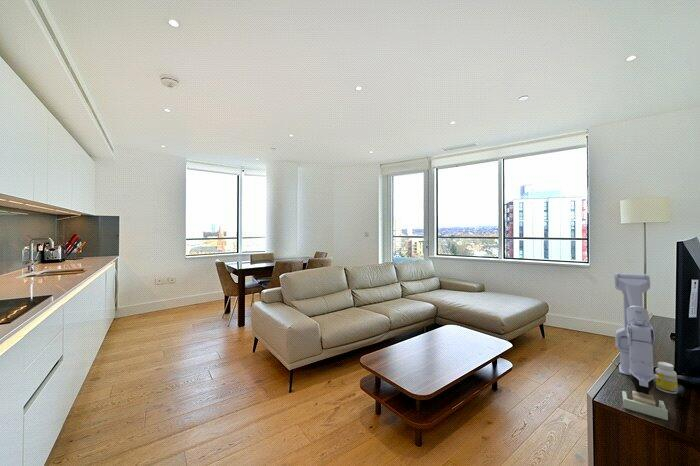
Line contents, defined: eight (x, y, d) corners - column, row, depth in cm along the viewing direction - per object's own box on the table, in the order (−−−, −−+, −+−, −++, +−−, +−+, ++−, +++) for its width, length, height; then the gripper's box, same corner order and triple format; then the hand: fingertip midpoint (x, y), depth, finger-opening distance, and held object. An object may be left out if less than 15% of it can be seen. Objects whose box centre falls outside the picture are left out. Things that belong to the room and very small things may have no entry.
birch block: (632, 401, 98) (632, 390, 98) (653, 407, 94) (653, 395, 94) (634, 408, 94) (633, 396, 94) (655, 414, 91) (655, 402, 91)
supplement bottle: (654, 384, 108) (653, 359, 108) (675, 389, 105) (674, 363, 105) (657, 390, 104) (656, 364, 104) (679, 395, 101) (678, 368, 101)
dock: (622, 396, 101) (622, 387, 101) (663, 407, 94) (663, 398, 94) (623, 407, 94) (623, 398, 95) (668, 420, 88) (667, 410, 88)
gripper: (661, 371, 89) (662, 413, 89) (655, 356, 100) (656, 394, 100) (630, 364, 94) (631, 404, 94) (627, 350, 105) (628, 387, 104)
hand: (642, 398), depth 97 cm, fingers closed
